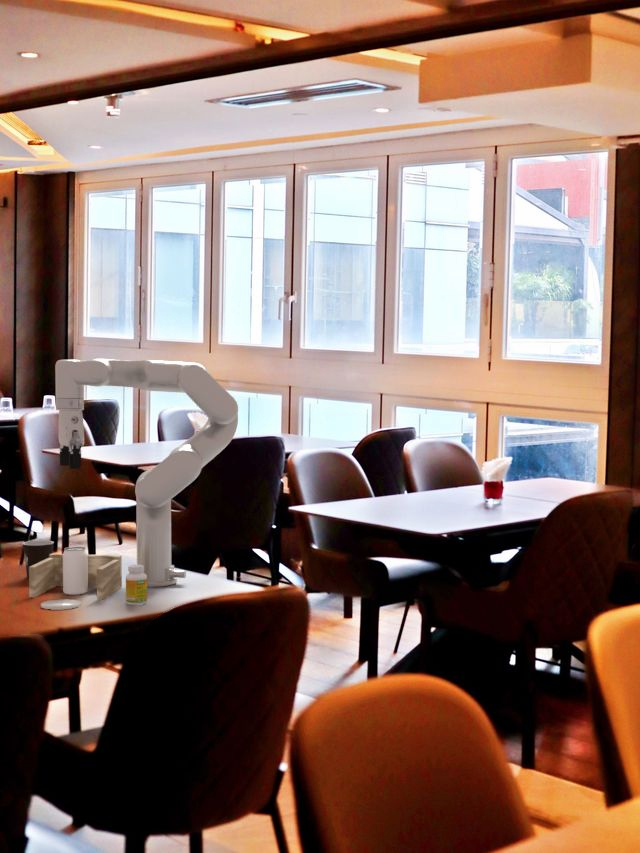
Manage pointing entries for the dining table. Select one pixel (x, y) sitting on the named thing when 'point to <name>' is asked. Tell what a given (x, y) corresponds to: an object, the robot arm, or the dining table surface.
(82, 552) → the can
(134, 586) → the supplement bottle
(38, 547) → the coffee mug
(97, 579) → the wooden arch stand
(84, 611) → the dining table surface
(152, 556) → the robot arm
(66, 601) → the coaster
